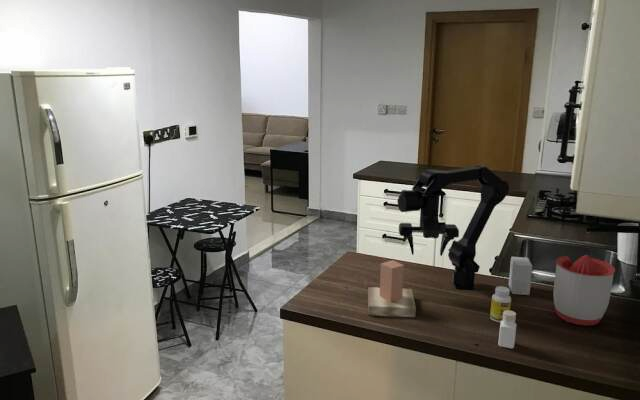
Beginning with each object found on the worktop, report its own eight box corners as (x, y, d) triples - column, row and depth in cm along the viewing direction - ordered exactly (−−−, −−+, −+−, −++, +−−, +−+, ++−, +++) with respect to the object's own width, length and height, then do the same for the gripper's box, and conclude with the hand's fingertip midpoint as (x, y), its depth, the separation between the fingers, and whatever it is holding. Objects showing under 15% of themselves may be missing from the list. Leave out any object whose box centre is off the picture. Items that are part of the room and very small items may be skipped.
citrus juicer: (594, 305, 164) (603, 246, 159) (615, 332, 147) (625, 266, 142) (542, 301, 166) (549, 242, 161) (556, 327, 150) (565, 262, 145)
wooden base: (410, 297, 169) (411, 288, 168) (415, 317, 155) (415, 308, 155) (368, 295, 170) (368, 287, 169) (368, 315, 156) (368, 306, 156)
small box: (529, 295, 171) (533, 265, 168) (511, 294, 172) (514, 264, 169) (525, 286, 178) (528, 257, 176) (508, 284, 179) (511, 256, 177)
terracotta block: (391, 292, 165) (392, 260, 162) (402, 298, 161) (403, 265, 159) (379, 296, 162) (380, 263, 160) (390, 302, 158) (392, 268, 156)
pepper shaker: (499, 339, 143) (502, 308, 140) (514, 342, 141) (517, 311, 139) (497, 346, 139) (501, 314, 137) (513, 349, 138) (517, 317, 135)
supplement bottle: (499, 324, 151) (502, 294, 149) (485, 317, 156) (488, 287, 153) (512, 321, 153) (516, 290, 151) (499, 313, 158) (502, 283, 156)
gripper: (402, 215, 159) (400, 262, 163) (463, 217, 158) (460, 264, 162) (399, 206, 170) (397, 250, 174) (457, 207, 168) (453, 252, 172)
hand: (426, 254), depth 170 cm, fingers open, 9 cm apart
